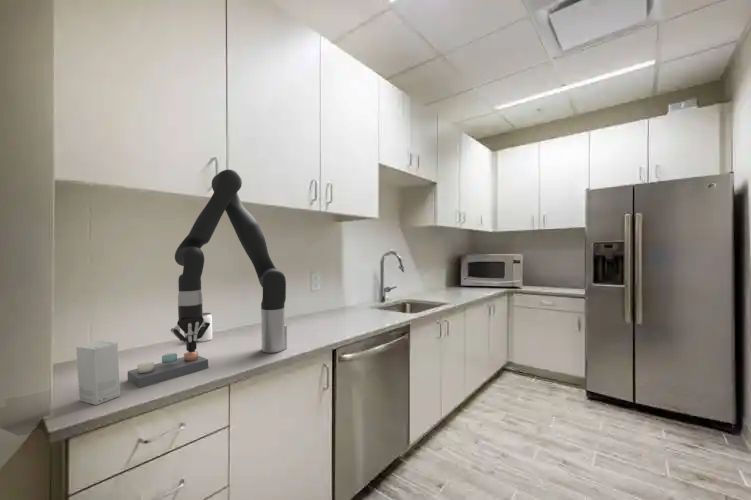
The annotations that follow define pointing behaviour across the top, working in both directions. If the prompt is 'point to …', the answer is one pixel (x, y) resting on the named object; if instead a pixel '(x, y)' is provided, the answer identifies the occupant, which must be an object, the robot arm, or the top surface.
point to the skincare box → (98, 372)
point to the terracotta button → (191, 356)
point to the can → (208, 333)
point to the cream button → (145, 367)
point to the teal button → (169, 358)
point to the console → (166, 371)
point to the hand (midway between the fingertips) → (191, 351)
